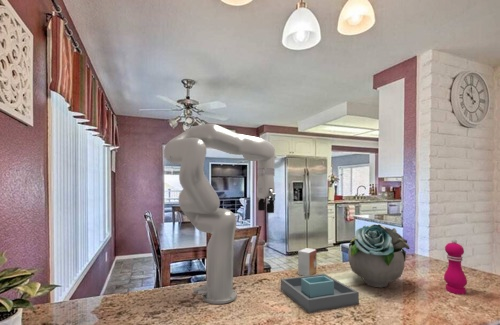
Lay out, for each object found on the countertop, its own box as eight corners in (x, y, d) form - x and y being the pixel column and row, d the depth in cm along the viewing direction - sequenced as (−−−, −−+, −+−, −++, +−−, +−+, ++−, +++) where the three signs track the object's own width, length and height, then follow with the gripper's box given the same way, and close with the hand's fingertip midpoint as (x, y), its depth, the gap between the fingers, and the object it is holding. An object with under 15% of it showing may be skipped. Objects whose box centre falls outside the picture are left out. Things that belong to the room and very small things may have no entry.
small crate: (310, 298, 98) (309, 284, 98) (301, 292, 103) (301, 278, 104) (333, 295, 101) (333, 280, 101) (324, 288, 107) (324, 275, 107)
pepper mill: (445, 292, 107) (444, 239, 108) (443, 286, 113) (441, 236, 115) (469, 296, 104) (467, 241, 105) (465, 289, 110) (463, 238, 111)
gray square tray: (308, 313, 89) (308, 300, 90) (280, 289, 108) (280, 279, 108) (358, 304, 96) (358, 292, 96) (324, 283, 115) (324, 273, 115)
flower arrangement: (425, 291, 108) (423, 227, 110) (376, 300, 99) (375, 231, 101) (375, 271, 131) (374, 218, 133) (331, 277, 122) (331, 221, 124)
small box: (309, 277, 122) (309, 252, 123) (297, 274, 126) (297, 250, 126) (316, 272, 129) (316, 249, 129) (305, 270, 132) (305, 247, 133)
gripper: (251, 173, 132) (251, 209, 131) (266, 172, 116) (265, 214, 115) (266, 173, 134) (265, 209, 133) (282, 172, 118) (282, 213, 117)
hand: (265, 211), depth 124 cm, fingers open, 9 cm apart
